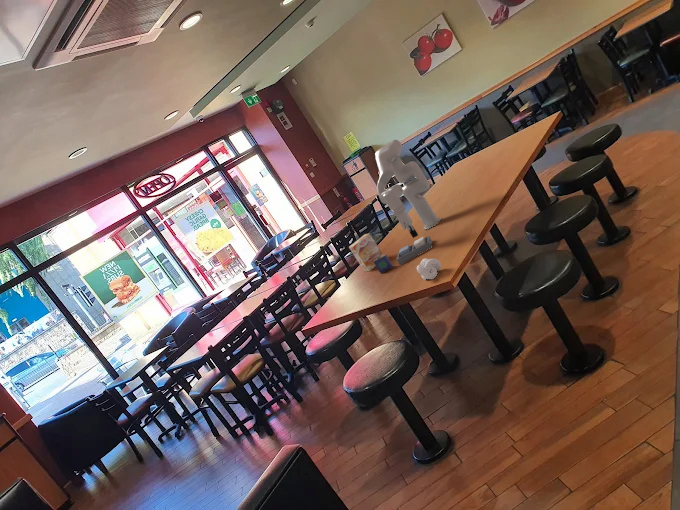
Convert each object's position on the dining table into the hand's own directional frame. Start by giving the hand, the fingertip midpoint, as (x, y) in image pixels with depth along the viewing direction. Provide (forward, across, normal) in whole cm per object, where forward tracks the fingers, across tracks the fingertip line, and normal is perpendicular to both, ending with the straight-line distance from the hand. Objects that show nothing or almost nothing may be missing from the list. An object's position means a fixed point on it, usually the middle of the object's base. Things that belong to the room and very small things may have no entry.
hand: (415, 236), depth 297 cm
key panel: (+9, 0, -5) cm, 10 cm away
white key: (+6, 0, 0) cm, 6 cm away
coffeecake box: (+9, -22, -37) cm, 44 cm away
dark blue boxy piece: (+9, +2, -25) cm, 27 cm away
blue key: (+6, 0, -10) cm, 12 cm away
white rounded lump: (+10, +50, +7) cm, 51 cm away
